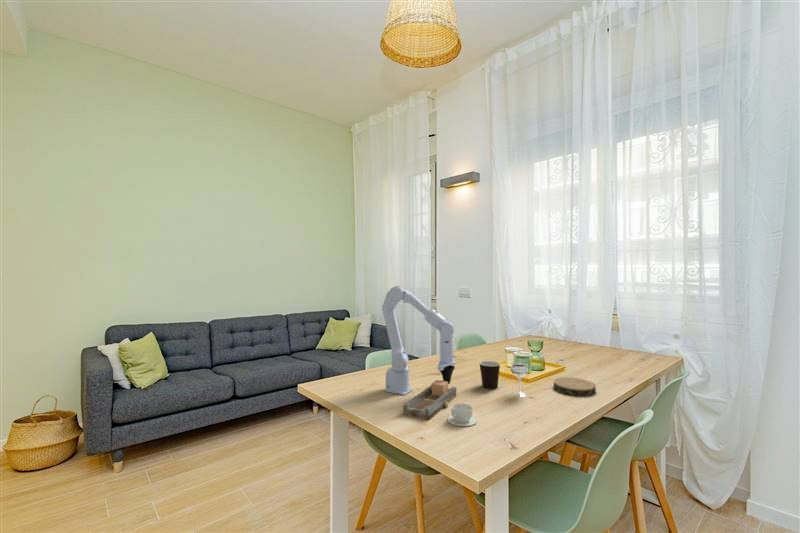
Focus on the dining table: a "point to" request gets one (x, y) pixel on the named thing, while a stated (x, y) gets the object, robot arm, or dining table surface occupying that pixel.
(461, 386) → the dining table surface
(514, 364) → the wineglass
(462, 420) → the teacup
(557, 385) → the wood slice
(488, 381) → the coffee mug
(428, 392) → the grey rectangular tray
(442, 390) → the salmon orange block
